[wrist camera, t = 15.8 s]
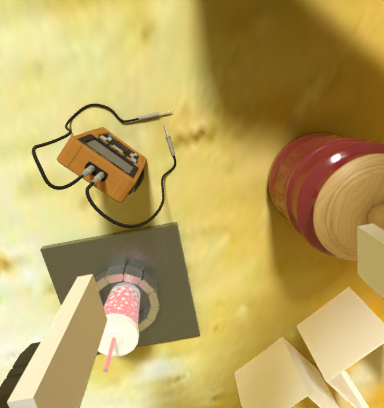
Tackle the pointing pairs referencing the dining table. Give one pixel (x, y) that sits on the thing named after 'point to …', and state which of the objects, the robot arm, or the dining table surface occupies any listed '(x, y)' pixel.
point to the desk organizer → (322, 354)
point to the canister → (329, 189)
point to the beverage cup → (120, 322)
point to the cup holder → (133, 276)
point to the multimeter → (104, 163)
